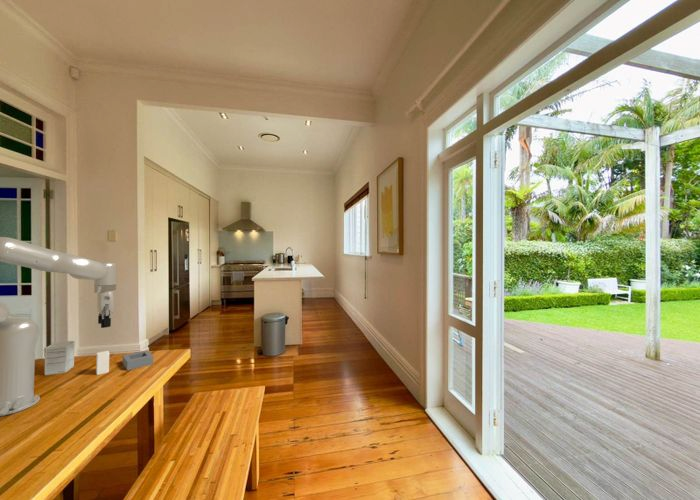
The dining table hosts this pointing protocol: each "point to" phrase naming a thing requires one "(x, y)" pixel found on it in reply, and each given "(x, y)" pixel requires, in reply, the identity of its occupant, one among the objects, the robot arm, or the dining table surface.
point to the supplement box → (59, 357)
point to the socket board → (137, 359)
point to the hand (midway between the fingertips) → (104, 325)
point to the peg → (102, 362)
